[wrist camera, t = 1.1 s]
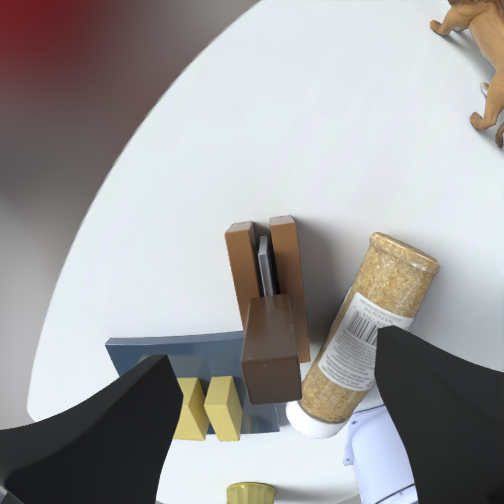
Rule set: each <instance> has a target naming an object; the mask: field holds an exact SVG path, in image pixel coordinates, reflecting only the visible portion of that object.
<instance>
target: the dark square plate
mask: <svg viewBox="0 0 504 504" xmlns="http://www.w3.org/2000/svg"><path fill="white" fill-rule="evenodd" d="M244 335H245V334H244V331H238V332H227V333H216V334H204V335H190V336H173V337H149V338H110V339H109V340H108V341H107V342H106V343H105V346H106V349H107V351H108V353H109V355H110V358H111V360H112V362H113V364H114V366H115V368H116V370H117V372H118V374H119V377H121V376H122V375H123V374H125V373H126V372H127V371H129V370H130V369H132V368H133V367H134V366H136V365H137V364H138V363H140V362H141V361H143V360H144V359H146V358H147V357H149V356H151V355H152V354H167V355H168V358H169V360H170V363H171V365H172V368H173V371H174V373H175V376H176V378H193V377H198V379H199V382H200V384H201V387H202V390H203V392H204V395H205V398H206V396H207V393H208V389H209V386H210V382H211V379H212V377H222V376H232V377H233V380H234V384H235V387H236V391H237V394H238V398H239V401H240V404H241V408H242V411H243V416H242V424H241V432H240V434H254V433H269V432H279V431H280V425H279V418H278V413H277V407H276V403H273V404H262V405H251V404H250V401H249V397H248V393H247V389H246V385H245V382H244V378H243V374H242V370H241V366H240V361H241V354H242V348H243V342H244ZM207 434H216V433H215V431H214V429H213V426H212V424H211V422H209V426H208V431H207Z"/></svg>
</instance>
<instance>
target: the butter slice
mask: <svg viewBox="0 0 504 504" xmlns="http://www.w3.org/2000/svg"><path fill="white" fill-rule="evenodd" d="M204 407H205V410H206V412H207V415H208V417H209V419H210V422H211V424H212V426H213V429H214V431H215V433H216V435H217V438H218V440H219V441H239V440H240V432H241V424H242V416H243V411H242V408H241V404H240V401H239V398H238V394H237V391H236V387H235V384H234V380H233V377H232V376H222V377H212V379H211V382H210V386H209V389H208V393H207V396H206V400H205V403H204Z"/></svg>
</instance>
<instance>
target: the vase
mask: <svg viewBox="0 0 504 504" xmlns="http://www.w3.org/2000/svg"><path fill="white" fill-rule="evenodd" d="M275 494H276V491H275V489H274V488H272V487H271V486H268V485H265V484H260V483H250V482H247V483H236V484H233V485H231V486H229V487H228V488H227V504H274V497H275Z"/></svg>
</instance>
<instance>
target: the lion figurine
mask: <svg viewBox="0 0 504 504" xmlns="http://www.w3.org/2000/svg"><path fill="white" fill-rule="evenodd" d="M448 1H449V4H450V5H451V6H452V7H451V9H450V10H449V11H448V13H447V15H446V16H445V18H444V21H443V23H442V24H440V23H439V22H437V21H435V20H432V22H430V28H431V29H432V30H433V31H435V32H436V33H438V34H440V35H445V34H446V35H448V34H449V33H450V32H451V31H452V30H455V31H457V32H459V31H463V30H465V29H467V28H469V29H470V31H471V34H472V36H473V38H474V40H475V42H476V44H477V46H478V48H479V49H480V51H481V53H482V54H483V56H484V57H485V59H486V60H487V61H488V62H489V63H490V64H491V65H492V66H493V67H494V68H495V69H496V73H495V75H494V77H493V78H492V80H491V83H490V85H489V84H487V83H481V89H482V92H483V93H484V95H485V96H486V104H485V113H484V117H483V119H482V117H481V116H480V115H479V114H478V113H477V112H474V113H473V114H472V115H471V117H470V120H471V123H472V125H473V127H474V128H476V129H478V130H485V129H488V128H489V127H492V126H494V125H495V124H496V122H497V118H498V115H499V113H500V112H501V111H502V109H503V108H504V0H448ZM503 132H504V123H503V124H502V125H501V126H500V127H499V128H498V130H497V133H496V143H497V145H498V147H499V148H502V147H503V138H502V134H503Z"/></svg>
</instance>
